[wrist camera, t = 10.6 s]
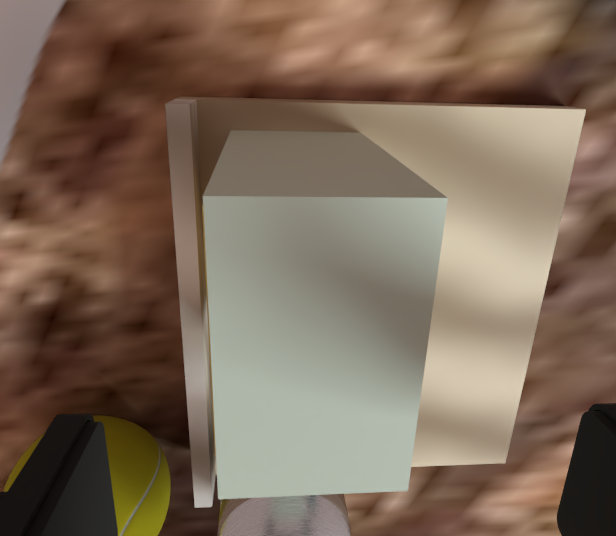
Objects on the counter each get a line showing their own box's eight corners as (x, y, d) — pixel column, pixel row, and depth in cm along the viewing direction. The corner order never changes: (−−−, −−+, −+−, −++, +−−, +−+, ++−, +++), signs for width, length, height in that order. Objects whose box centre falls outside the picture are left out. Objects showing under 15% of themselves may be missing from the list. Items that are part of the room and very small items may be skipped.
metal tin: (328, 470, 26) (355, 633, 19) (228, 474, 26) (215, 642, 18) (333, 388, 24) (365, 533, 17) (225, 390, 24) (209, 540, 16)
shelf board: (493, 443, 28) (523, 492, 25) (202, 453, 27) (194, 507, 24) (565, 106, 21) (618, 114, 18) (180, 96, 20) (164, 103, 17)
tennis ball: (31, 481, 27) (-42, 616, 20) (50, 373, 24) (-26, 486, 18) (164, 504, 28) (135, 637, 22) (194, 403, 26) (172, 519, 19)
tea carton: (360, 132, 20) (448, 198, 10) (348, 315, 23) (407, 490, 14) (227, 129, 19) (195, 196, 10) (232, 317, 22) (212, 499, 13)
